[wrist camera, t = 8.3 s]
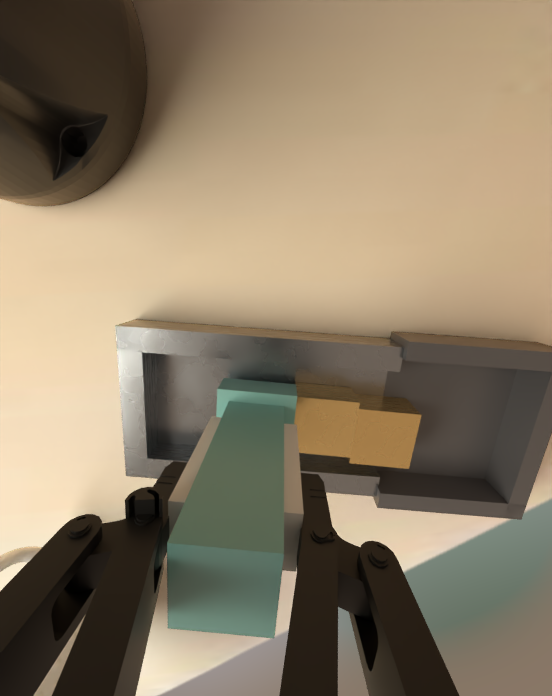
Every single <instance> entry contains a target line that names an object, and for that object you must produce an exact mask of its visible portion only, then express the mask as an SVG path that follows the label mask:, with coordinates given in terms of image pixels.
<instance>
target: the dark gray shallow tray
mask: <svg viewBox="0 0 552 696" xmlns="http://www.w3.org/2000/svg"><path fill="white" fill-rule="evenodd" d="M115 329H116V343H117V357H118V371H119V384H120V398H121V412H122V426H123V439H124V453H125V467H126V476H132V477H145V478H157V479H158V478H159V477H160V475H161V474H162V472H163V470H164V469H165V467H166V466H168V465H169V464H170V463H172V462H173V461H178V462H188V461H189V459H190V457H191V455H192V453H193V451H194V449H195V447H196V446H197V444H198V442H199V440H200V438H201V436H202V434H203V432H204V430H205V428H206V426H207V424H208V422H209V420H210V418H211V417H216V412H217V389H218V387H219V385H220V384H221V382H222V380H223V378H231V379H242V380H253V381H264V382H275V383H286V384H295V382H297V383H308V384H319V385H330V386H341V387H351V388H352V390H353V391H354V393H355V394H364V395H375V396H383V394H384V388H385V383H386V377H387V371H393V372H400V369H401V364H402V359H403V353H404V347H403V346H401V345H400V344H398V343H397V342H395V341H394V340H392V339H391V338H377V337H364V336H351V335H337V334H324V333H311V332H297V331H284V330H270V329H257V328H244V327H230V326H217V325H204V324H190V323H177V322H164V321H150V320H137V319H135V320H132V321H129V322H125V323H122V324H119V325H116V326H115ZM299 460H300V473H309V474H318V475H319V476H320V477H321V479H322V480H323V482H324V486H325V492H328V493H340V494H353V495H365V496H377V491H378V485H379V480H380V476H379V474H378V472H377V470H376V467H375V466H373V465H362V464H352V463H349V461H348V458H347V457H338V456H328V455H317V454H306V453H299Z"/></svg>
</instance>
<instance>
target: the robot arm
mask: <svg viewBox="0 0 552 696" xmlns="http://www.w3.org/2000/svg"><path fill="white" fill-rule="evenodd" d="M146 86H147V69H146V57H145V49H144V43H143V38H142V33H141V29H140V25H139V21H138V18H137V15H136V11H135V9H134V6H133V3H132V1H131V0H0V199H4V200H7V201H11V202H15V203H20V204H25V205H33V206H52V205H59V204H64V203H68V202H72V201H75V200H77V199H80V198H82V197H84V196H86V195H88V194H90V193H92V192H93V191H95V190H96V189H98V188H99V187H100V186H102V185H103V184H104V183H105V182H106V181H107V180H109V179H110V178H111V177H112V176H113V174H114V173H115V172H116V171H117V170H118V169H119V167H120V166H121V165H122V163H123V162H124V160H125V159H126V157H127V155H128V154H129V152H130V150H131V148H132V146H133V144H134V141H135V139H136V137H137V134H138V131H139V128H140V124H141V121H142V117H143V112H144V106H145V99H146ZM220 420H221V417H211V418H210V420H209V422H208V424H207V426H206V428H205V430H204V432H203V434H202V436H201V438H200V440H199V442H198V444H197V446H196V447H195V449H194V451H193V453H192V455H191V457H190V459H189V461H188V462H178V461H173V462H172V463H170V464H169V465H168V466H166V467H165V469H164V470H163V472H162V474H161V475H160V477H159V478H158V480H157V482H156V483H155V485H154V486H153V487H145V488H140V489H138V490H136V491H134V492H132V493H131V494H130V495H129V496H128V497H127V498H126V500H125V510H126V519H123V520H120V521H116V522H110V523H104V524H102V520H101V519H100V518H99V516H96V515H93V514H86V515H82V516H78V517H76V518H74V519H72V520H70V521H69V522H67V523H66V524H65V525H64V526H63V527H62V528H61V529H60V530H59V531H58V532H57V533H56V534H55V535H54V536H53V537H52V538H51V539H50V540H49V541H48V542H47V543H46V544H45V545H44V546H43V547H42V548H41V550H40V551H39V552H38V553H37V554H36V555H35V556H34V557H33V558H32V559H31V560H30V561H29V562H28V563H27V564H26V565H25V566H24V567H23V568H22V569H21V570H20V571H19V572H18V574H17V575H16V576H15V577H14V578H13V579H12V580H11V581H10V582H9V583H8V584H7V585H6V586H5V587H4V588H3V589H2V590H1V591H0V696H33V695H34V694H35V692H36V691H37V689H38V688H39V686H40V685H41V683H42V681H43V680H44V678H45V677H46V675H47V674H48V672H49V671H50V669H51V667H52V666H53V664H54V663H55V661H56V660H57V658H58V657H59V655H60V653H61V652H62V650H63V649H64V647H65V646H66V644H67V643H68V641H69V639H70V638H71V636H72V635H73V633H74V632H75V630H76V629H77V627H78V625H79V624H80V622H81V621H82V619H83V618H84V620H83V622H82V624H81V627H80V629H79V632H78V634H77V636H76V639H75V641H74V643H73V646H72V648H71V651H70V653H69V655H68V658H67V660H66V663H65V665H64V667H63V670H62V672H61V674H60V677H59V679H58V682H57V684H56V686H55V689H54V691H53V693H52V696H135V694H136V690H137V685H138V681H139V676H140V672H141V667H142V663H143V659H144V654H145V650H146V645H147V641H148V636H149V632H150V627H151V623H152V618H153V614H154V609H155V605H156V601H157V596H158V592H159V587H160V583H161V578H162V574H163V560H164V558H165V555H166V553H167V542H168V540H169V537H170V535H171V533H172V530H173V528H174V526H175V524H176V521H177V519H178V517H179V514H180V512H181V510H182V507H183V505H184V503H185V501H186V498H187V496H188V494H189V491H190V489H191V487H192V485H193V482H194V480H195V478H196V475H197V473H198V471H199V468H200V466H201V464H202V462H203V459H204V457H205V455H206V452H207V450H208V448H209V445H210V443H211V441H212V439H213V436H214V434H215V432H216V429H217V427H218V425H219V422H220ZM296 567H297V577H296V584H295V591H294V598H293V605H292V612H291V619H290V626H289V633H288V640H287V647H286V655H285V661H284V668H283V675H282V682H281V689H280V696H338V682H337V681H338V607H340V608H342V609H344V610H346V611H348V612H349V614H350V618H351V623H352V627H353V631H354V635H355V639H356V643H357V647H358V651H359V655H360V660H361V664H362V668H363V672H364V676H365V680H366V685H367V689H368V693H369V696H459V694H458V692H457V690H456V687H455V685H454V683H453V681H452V679H451V676H450V674H449V672H448V670H447V668H446V666H445V663H444V661H443V659H442V657H441V654H440V652H439V650H438V648H437V646H436V644H435V641H434V639H433V637H432V635H431V633H430V630H429V628H428V626H427V624H426V622H425V619H424V617H423V615H422V613H421V611H420V608H419V606H418V604H417V602H416V599H415V597H414V595H413V593H412V591H411V588H410V587H409V584H408V582H407V580H406V578H405V575H404V573H403V571H402V569H401V566H400V564H399V562H398V560H397V558H396V556H395V555H394V553H393V552H392V551H391V550H390V549H389V548H388V547H387V546H385V545H383V544H381V543H379V542H375V541H367V542H365V543H363V544H362V545H361V547H358V546H355V545H353V544H350V543H348V542H346V541H344V540H343V539H341V538H340V537H339V536H338V535H337V533H336V531H335V530H334V528H333V527H332V523H331V518H330V513H329V507H328V502H327V496H326V492H325V486H324V482H323V480H322V479H321V477H320V476H319V475H318V474H309V473H300V460H299V447H298V434H297V425H294V424H284V558H283V566H282V570H286V571H296ZM84 616H85V617H84Z"/></svg>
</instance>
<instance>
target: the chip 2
mask: <svg viewBox="0 0 552 696" xmlns="http://www.w3.org/2000/svg"><path fill="white" fill-rule="evenodd" d="M355 395H356V397H357V398H358V400H359V402H360V405H359V411H358V417H357V422H356V428H355V434H354V440H353V445H352V451H351V457H350V458H349V457H347V458H348V461H349V463H352V464H362V465H373V466H383V467H394V468H404V469H409V466H410V462H411V458H412V454H413V449H414V445H415V441H416V437H417V433H418V428H419V424H420V420H421V416H422V415H421V414H420V413H419V412H418V411H417V410H416V408H415V407H414V406H413V405H412V404H411V403H410V402H409V401H408V400H407V399H406V398H397V397H386V396H375V395H364V394H355Z"/></svg>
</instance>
